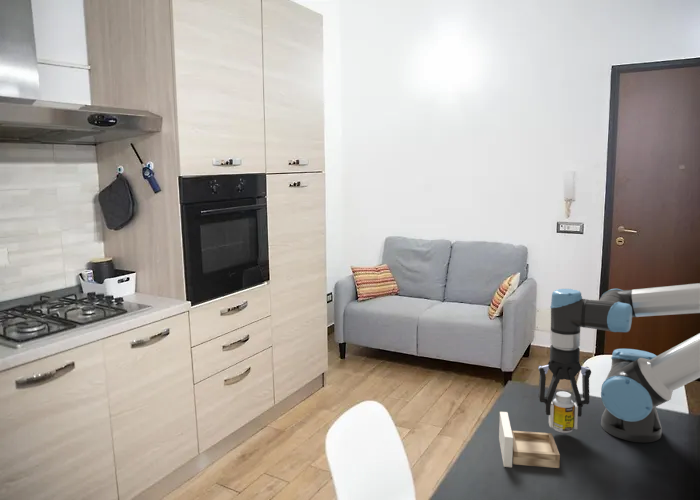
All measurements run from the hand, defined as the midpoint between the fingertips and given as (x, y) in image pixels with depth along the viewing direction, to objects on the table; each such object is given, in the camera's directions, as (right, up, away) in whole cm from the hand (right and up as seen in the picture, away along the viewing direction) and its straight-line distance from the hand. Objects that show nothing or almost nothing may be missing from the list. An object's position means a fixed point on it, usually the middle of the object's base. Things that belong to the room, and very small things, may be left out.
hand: (562, 425), depth 149 cm
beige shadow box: (-11, -4, -9) cm, 15 cm away
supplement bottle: (0, -1, 0) cm, 1 cm away
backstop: (-18, -4, -8) cm, 20 cm away
